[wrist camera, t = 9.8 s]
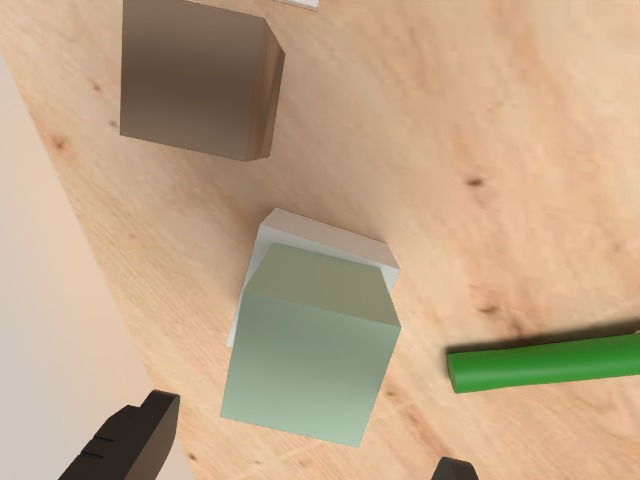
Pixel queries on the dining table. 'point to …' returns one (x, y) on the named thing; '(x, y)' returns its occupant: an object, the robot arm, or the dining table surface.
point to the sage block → (310, 346)
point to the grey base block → (316, 247)
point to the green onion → (545, 363)
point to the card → (303, 3)
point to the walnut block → (199, 78)
